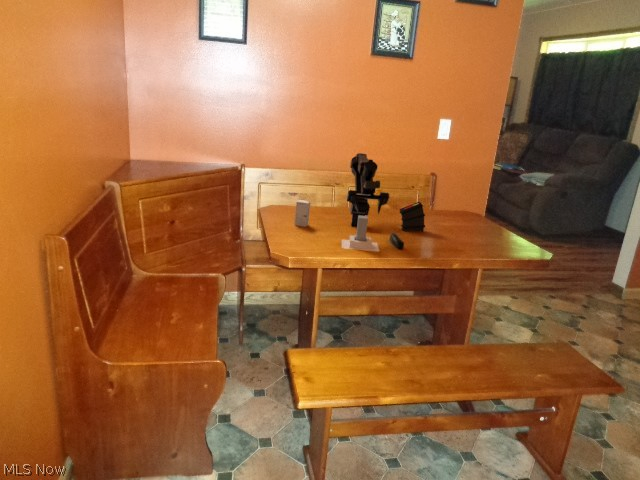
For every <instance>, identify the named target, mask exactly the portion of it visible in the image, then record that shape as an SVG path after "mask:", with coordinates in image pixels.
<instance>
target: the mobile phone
mask: <svg viewBox="0 0 640 480" xmlns="http://www.w3.org/2000/svg"><path fill="white" fill-rule="evenodd" d="M389 241H390V243H391V244H392V245H393V246H394V248H396V249H397V250H399V251H403V250H404V245H405V243H404V241H403V240H402V239H401V238H400V237H399V235H398V234H397V233H395V232H392V233H390V235H389Z"/></svg>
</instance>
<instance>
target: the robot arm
mask: <svg viewBox="0 0 640 480" xmlns="http://www.w3.org/2000/svg"><path fill="white" fill-rule="evenodd" d="M349 168H350V170H351V174H352V175H353V176H354V188H355V189H354V190H353V189H349V190H347V195H346V201H347V203H348V202H349V203H350V204H351V205H350V211H349V213H350V215H352V216H351V222H350V226H351V227H352V228H354V227H355V228H357V224H358V215H360V216H368V215H369V212H370V208H371V206H370V204H369V200H372V201H373V200H374V201H378V202H377V213H378V215H379V214H380V212H381V209H382V206H385V205H386V204H388V201H389V199H390V194H389V192H385V191H384V192H383V191H381V192H380V193H379V194H376V189H380V188H381V181H380V180H375V181H374V178H375V176H376V173H377V171H378V168H379V167H378V164H377V163H376V162H375V161H374V159H369V158H368V155H367V154H366V153H362V152H358V153H356V154H355V156H354V157H352V158H351V160H350V165H349ZM368 217H369V216H368Z"/></svg>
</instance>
